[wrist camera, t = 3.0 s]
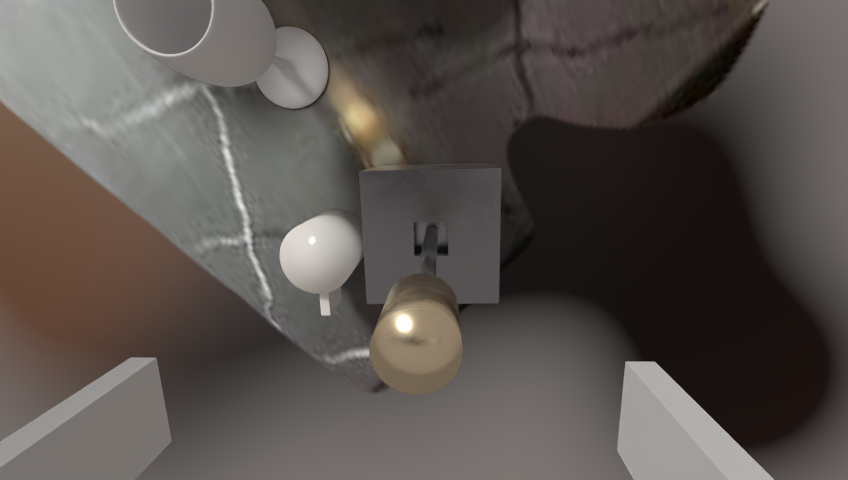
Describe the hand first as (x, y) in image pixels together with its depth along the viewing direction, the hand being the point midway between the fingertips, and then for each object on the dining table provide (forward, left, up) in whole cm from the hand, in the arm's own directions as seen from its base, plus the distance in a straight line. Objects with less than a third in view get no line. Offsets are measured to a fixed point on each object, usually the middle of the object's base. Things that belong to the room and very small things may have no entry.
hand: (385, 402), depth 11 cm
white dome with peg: (-11, -5, -37) cm, 40 cm away
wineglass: (-15, +16, -38) cm, 44 cm away
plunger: (+1, -1, -27) cm, 27 cm away
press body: (+1, -1, -38) cm, 38 cm away
